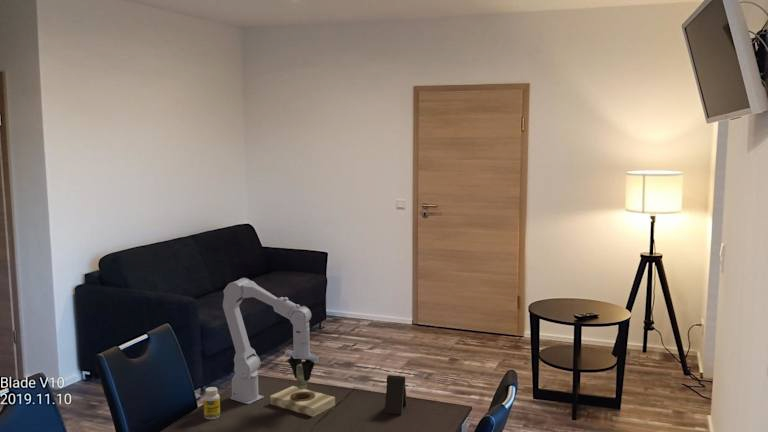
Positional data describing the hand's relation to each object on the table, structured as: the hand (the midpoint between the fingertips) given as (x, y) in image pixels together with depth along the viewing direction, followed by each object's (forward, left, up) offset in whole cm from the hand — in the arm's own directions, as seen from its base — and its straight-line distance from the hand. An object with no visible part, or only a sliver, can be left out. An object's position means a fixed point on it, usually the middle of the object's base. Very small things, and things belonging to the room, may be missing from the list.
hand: (302, 378), depth 238 cm
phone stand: (+30, +15, -10) cm, 35 cm away
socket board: (0, 0, -10) cm, 10 cm away
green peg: (0, 0, -3) cm, 3 cm away
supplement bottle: (-19, -25, -10) cm, 33 cm away
